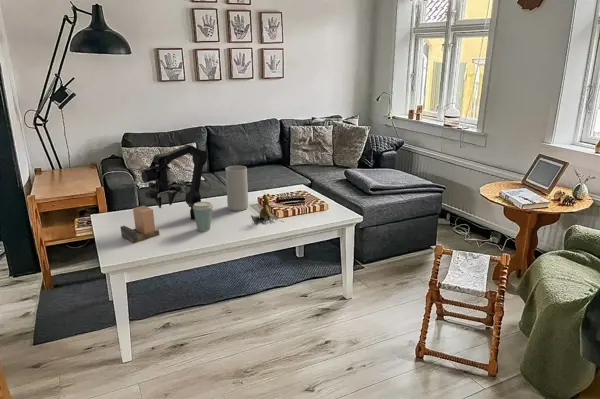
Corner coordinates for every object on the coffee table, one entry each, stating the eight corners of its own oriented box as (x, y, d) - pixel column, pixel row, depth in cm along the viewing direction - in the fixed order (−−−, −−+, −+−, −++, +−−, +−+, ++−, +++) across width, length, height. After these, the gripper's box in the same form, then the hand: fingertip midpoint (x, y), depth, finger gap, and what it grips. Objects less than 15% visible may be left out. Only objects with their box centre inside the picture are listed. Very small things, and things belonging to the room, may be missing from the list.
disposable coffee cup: (192, 227, 245) (190, 201, 240) (212, 224, 249) (210, 198, 244) (196, 234, 236) (194, 207, 231) (216, 231, 240) (214, 204, 235)
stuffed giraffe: (256, 225, 248) (256, 197, 244) (250, 215, 264) (250, 189, 260) (284, 223, 252) (284, 196, 248) (276, 213, 269) (277, 188, 265)
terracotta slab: (145, 226, 240) (143, 205, 236) (155, 230, 234) (152, 209, 231) (135, 229, 236) (132, 208, 232) (145, 234, 230) (142, 212, 226)
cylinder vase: (247, 211, 269) (245, 170, 261) (226, 211, 269) (223, 170, 261) (249, 204, 281) (247, 165, 273) (229, 204, 281) (227, 165, 273)
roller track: (146, 229, 242) (145, 219, 241) (159, 235, 235) (158, 224, 233) (121, 237, 232) (120, 226, 230) (134, 243, 225) (132, 232, 223)
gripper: (168, 172, 248) (171, 199, 253) (137, 179, 235) (141, 207, 240) (180, 175, 241) (183, 203, 246) (149, 183, 228) (152, 212, 233)
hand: (165, 206), depth 241 cm, fingers open, 6 cm apart
